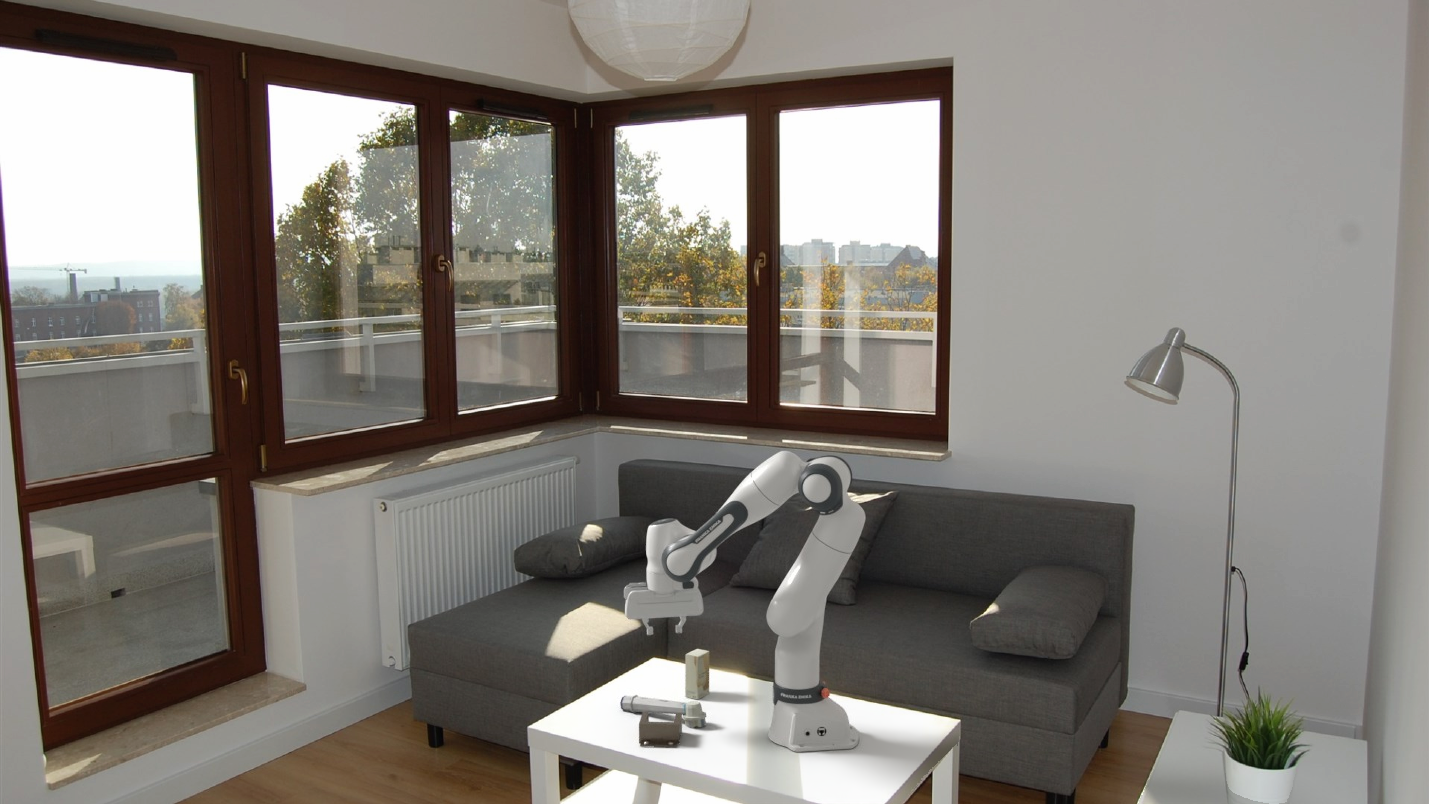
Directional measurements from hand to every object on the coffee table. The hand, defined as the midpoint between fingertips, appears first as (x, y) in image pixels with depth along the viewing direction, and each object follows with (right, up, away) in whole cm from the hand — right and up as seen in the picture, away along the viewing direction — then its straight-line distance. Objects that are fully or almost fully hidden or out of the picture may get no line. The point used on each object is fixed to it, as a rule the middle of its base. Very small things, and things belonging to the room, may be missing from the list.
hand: (664, 633), depth 278 cm
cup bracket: (-1, -24, -9) cm, 26 cm away
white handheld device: (0, -23, +4) cm, 24 cm away
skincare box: (+8, -22, +20) cm, 30 cm away
